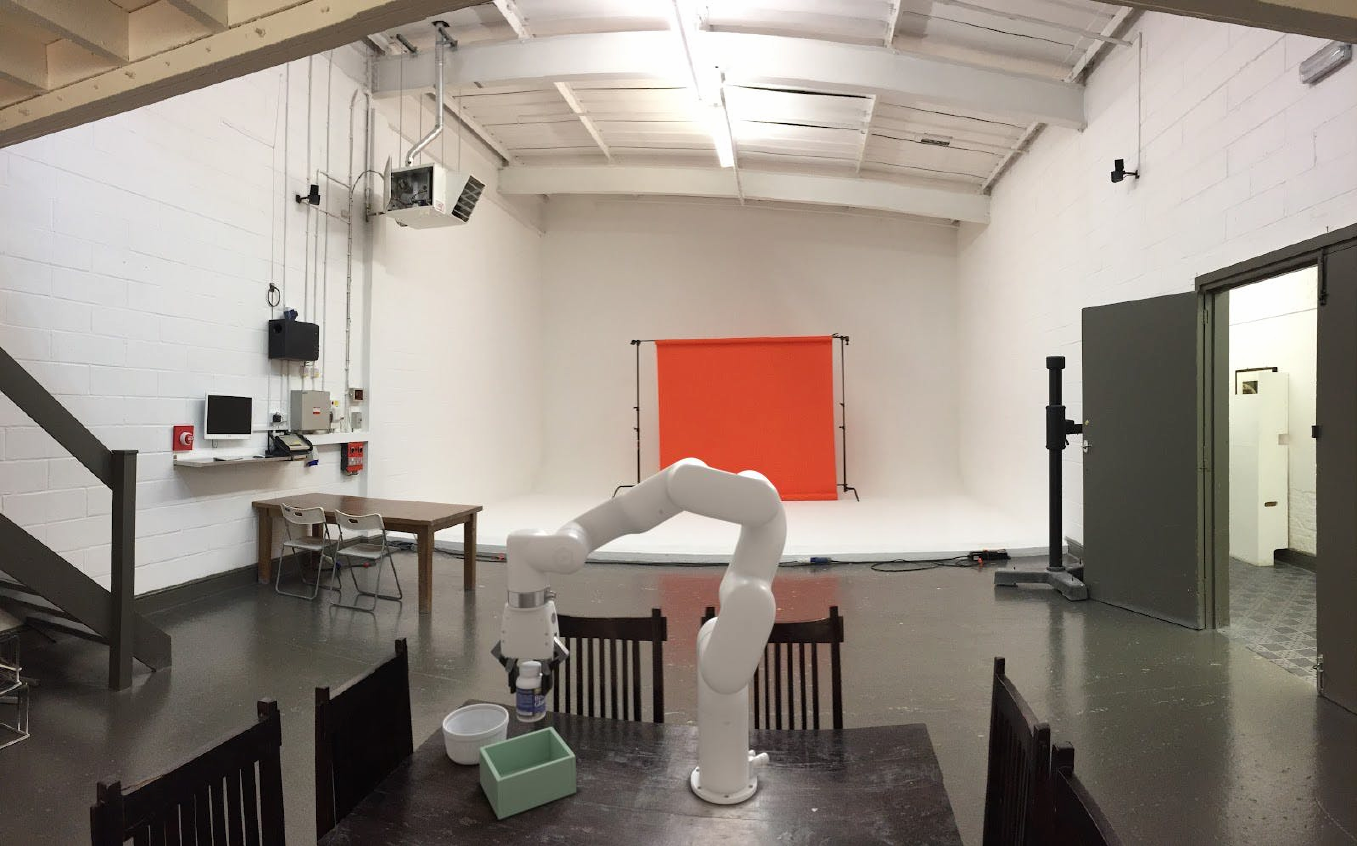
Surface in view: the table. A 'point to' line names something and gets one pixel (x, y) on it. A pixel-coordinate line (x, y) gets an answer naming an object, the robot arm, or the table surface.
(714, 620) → the robot arm
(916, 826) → the table surface
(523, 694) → the pill bottle
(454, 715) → the ramekin
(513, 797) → the green open box
